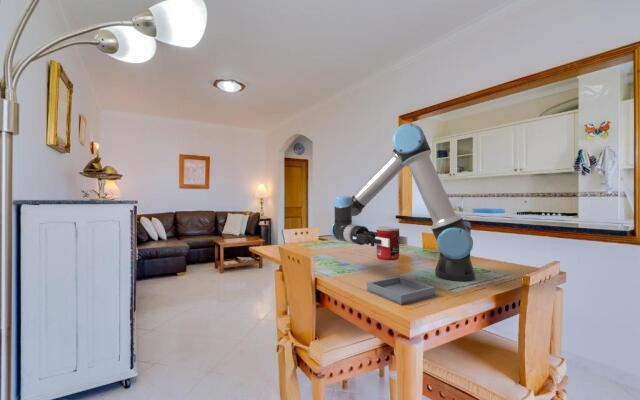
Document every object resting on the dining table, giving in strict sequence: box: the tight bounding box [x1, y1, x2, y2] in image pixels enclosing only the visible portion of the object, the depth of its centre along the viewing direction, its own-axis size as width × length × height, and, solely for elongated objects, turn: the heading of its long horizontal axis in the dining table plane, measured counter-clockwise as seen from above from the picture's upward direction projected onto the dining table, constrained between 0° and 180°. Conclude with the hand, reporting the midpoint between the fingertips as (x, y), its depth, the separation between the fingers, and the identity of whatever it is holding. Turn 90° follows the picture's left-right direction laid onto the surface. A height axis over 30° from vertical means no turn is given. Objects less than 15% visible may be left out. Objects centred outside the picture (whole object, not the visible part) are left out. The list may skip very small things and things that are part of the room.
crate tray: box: [366, 275, 436, 306], centre depth 105 cm, size 16×16×3 cm
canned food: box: [376, 226, 400, 262], centre depth 109 cm, size 8×8×11 cm
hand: (397, 242), depth 105 cm, fingers closed on canned food, 8 cm apart
